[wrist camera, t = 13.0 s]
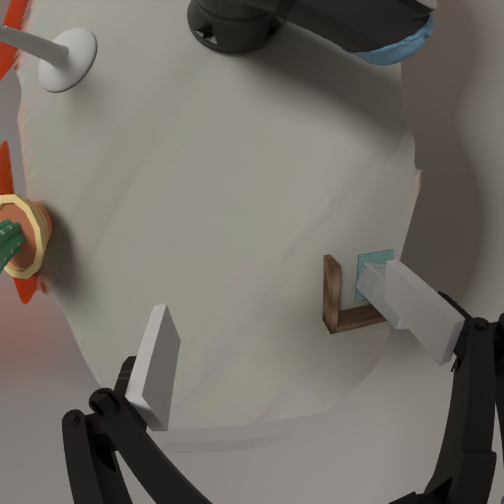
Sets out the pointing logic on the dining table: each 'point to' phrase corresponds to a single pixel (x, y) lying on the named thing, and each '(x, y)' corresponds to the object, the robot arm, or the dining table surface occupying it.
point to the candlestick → (56, 55)
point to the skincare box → (377, 291)
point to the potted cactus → (22, 235)
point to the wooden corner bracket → (331, 315)
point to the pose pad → (374, 258)
